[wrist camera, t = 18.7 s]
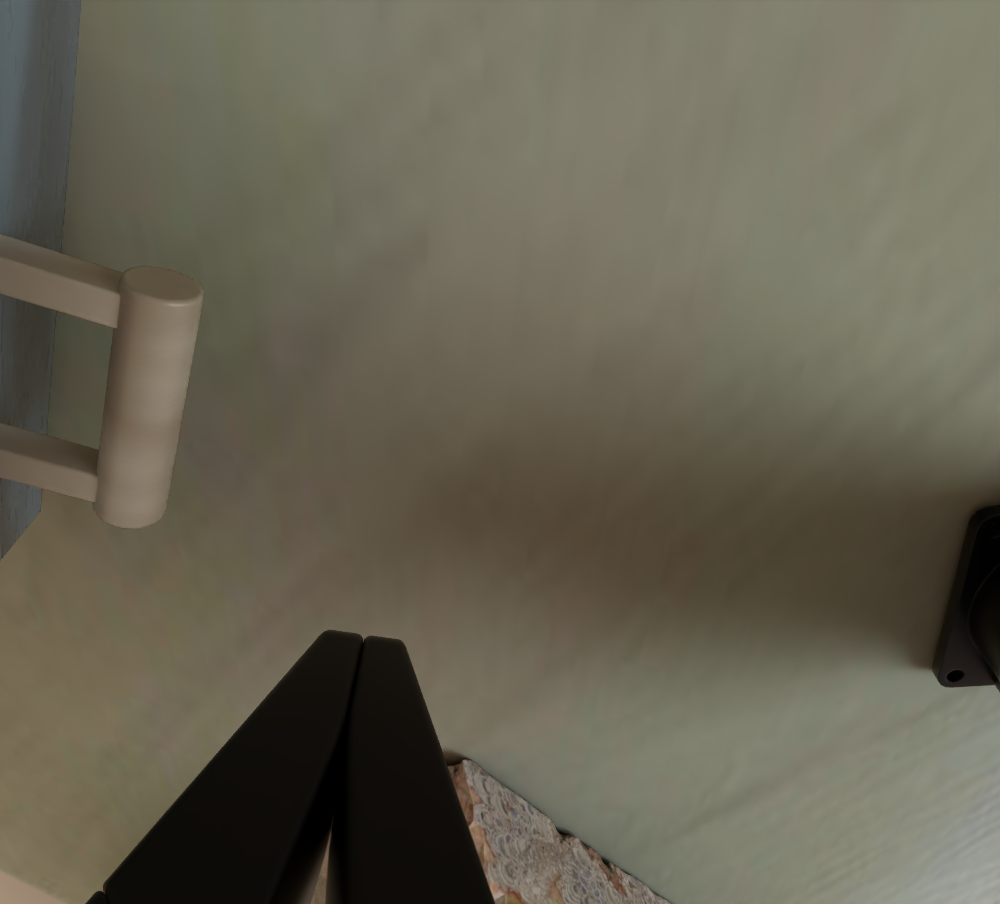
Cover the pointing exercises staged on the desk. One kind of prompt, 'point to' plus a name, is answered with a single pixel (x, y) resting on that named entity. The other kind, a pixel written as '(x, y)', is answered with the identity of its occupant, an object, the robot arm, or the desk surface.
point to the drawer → (75, 305)
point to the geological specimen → (529, 852)
